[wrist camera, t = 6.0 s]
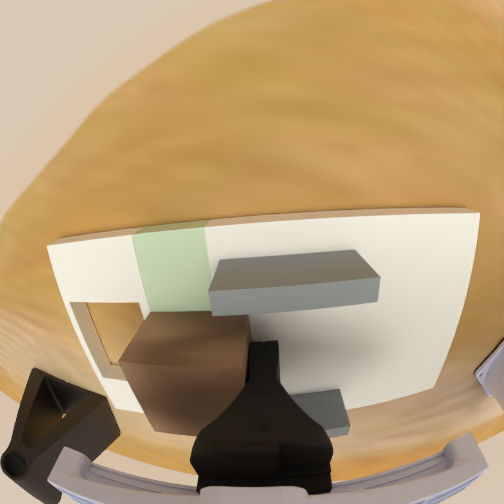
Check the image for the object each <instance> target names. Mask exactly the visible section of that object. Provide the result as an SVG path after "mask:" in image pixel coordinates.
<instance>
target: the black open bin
mask: <svg viewBox="0 0 504 504" xmlns="http://www.w3.org/2000/svg"><path fill="white" fill-rule="evenodd" d="M63 414H67V415H66V416H65V417H64V418H62V415H63ZM119 436H120V432H119V429H118V427H117V425H116V423H115V420H114V418H113V415H112V413H111V411H110V408H109V406H108V403H107V400H106V398H105V396H103V395H100V394H97V393H94V392H91V391H89V390H86V389H83V388H81V387H78V386H76V385H73V384H71V383H66V382H65V381H63V380H61V379H59V378H57V377H54V376H52V375H50V374H48V373H46V372H44V371H41V370H39V369H37V368H33V369H32V371H31V373H30V376H29V379H28V382H27V385H26V388H25V391H24V394H23V397H22V400H21V404H20V407H19V410H18V414H17V418H16V422H15V425H14V430H13V434H12V439H11V442H10V444H9V446H8V448H7V449H6V451H5V452H4V453H3V454H2V456H1V461H0V463H1V468H2V470H3V472H4V473H5V474H6V475H7V476H8V477H9V478H10V479H12V480H13V481H14V482H15V483H17V484H18V485H19V486H20V487H22V488H23V489H24V490H25V491H27V492H28V493H29V494H31V495H32V496H34V497H35V498H36V499H38V500H40V501H41V502H43V503H44V504H58V503H59V502H60V500H61V495H62V492H61V491H60V490H58V489H57V488H56V487H54V486H53V485H52V484H51V483H49V482H48V480H47V479H48V477H49V475H50V473H51V471H52V469H53V467H54V465H55V463H56V461H57V459H58V457H59V455H60V453H61V452H62V450H63V448H64V447H68V448H70V449H73V450H75V451H78V452H80V453H82V454H84V455H85V456H86V457H88V458H89V459H90V461H91V462H93V461H94V460H95V459H96V458H97V457H98V456H99V455H100V454H101V453H102V452H103V451H104V450H105V449H106V448H107V447H108V446H110V445H111V444H112V443H113V442H114V441H115V440H116V439H117V438H118V437H119Z"/></svg>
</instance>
